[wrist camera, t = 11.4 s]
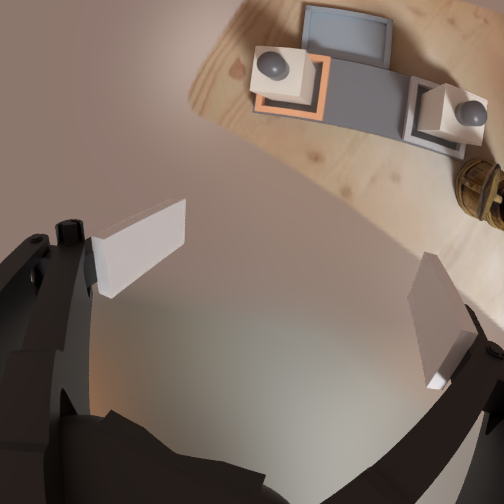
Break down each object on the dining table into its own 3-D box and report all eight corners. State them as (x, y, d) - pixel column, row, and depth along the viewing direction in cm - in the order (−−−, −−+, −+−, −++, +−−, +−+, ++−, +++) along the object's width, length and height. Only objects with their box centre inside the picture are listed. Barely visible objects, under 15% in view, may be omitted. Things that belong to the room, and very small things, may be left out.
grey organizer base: (465, 100, 29) (477, 98, 25) (455, 159, 33) (467, 162, 29) (266, 55, 36) (257, 47, 32) (258, 113, 39) (249, 111, 35)
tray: (391, 23, 28) (392, 20, 27) (387, 71, 32) (389, 69, 30) (307, 8, 31) (306, 5, 30) (301, 55, 34) (300, 53, 33)
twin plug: (455, 106, 28) (500, 98, 17) (450, 141, 30) (494, 148, 19) (421, 94, 29) (455, 78, 18) (416, 130, 31) (449, 130, 20)
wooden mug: (439, 134, 33) (498, 139, 17) (509, 173, 30) (580, 203, 15) (421, 192, 37) (466, 233, 21) (491, 226, 34) (550, 279, 19)
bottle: (315, 69, 32) (301, 41, 21) (310, 105, 34) (294, 92, 23) (277, 65, 33) (246, 37, 22) (272, 100, 35) (239, 86, 24)
